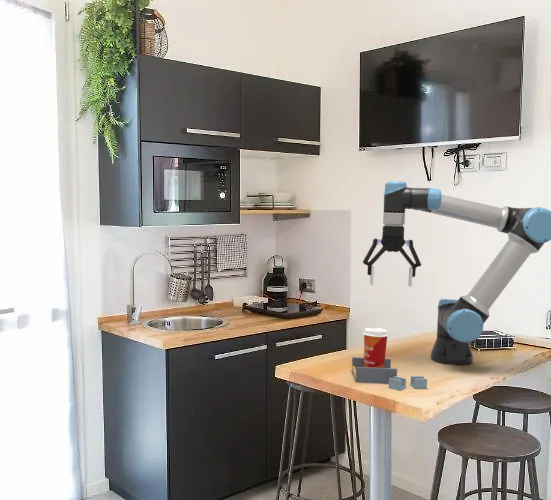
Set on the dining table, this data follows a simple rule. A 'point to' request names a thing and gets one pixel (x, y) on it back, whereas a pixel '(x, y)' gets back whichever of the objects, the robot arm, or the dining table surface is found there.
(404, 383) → the clip
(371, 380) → the end holder
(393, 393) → the dining table surface
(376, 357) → the coffee cup
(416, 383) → the clip
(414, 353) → the dining table surface
